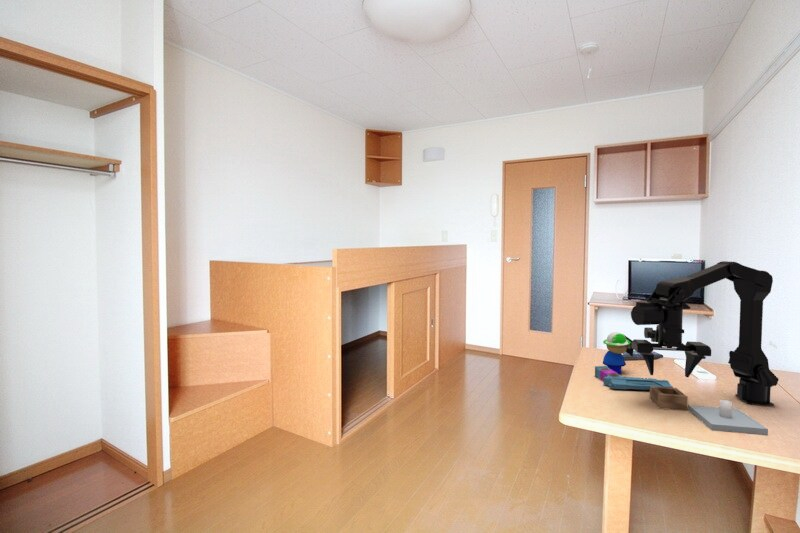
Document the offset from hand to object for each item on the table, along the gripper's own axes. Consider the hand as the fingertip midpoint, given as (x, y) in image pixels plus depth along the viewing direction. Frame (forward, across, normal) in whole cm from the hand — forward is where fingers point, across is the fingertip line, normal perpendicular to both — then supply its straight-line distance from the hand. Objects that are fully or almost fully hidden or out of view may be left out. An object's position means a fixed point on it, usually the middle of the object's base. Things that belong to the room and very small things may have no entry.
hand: (668, 375), depth 112 cm
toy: (+9, +6, -28) cm, 30 cm away
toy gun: (+9, +5, -15) cm, 19 cm away
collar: (+9, 0, 0) cm, 9 cm away
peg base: (+9, -10, +9) cm, 16 cm away
